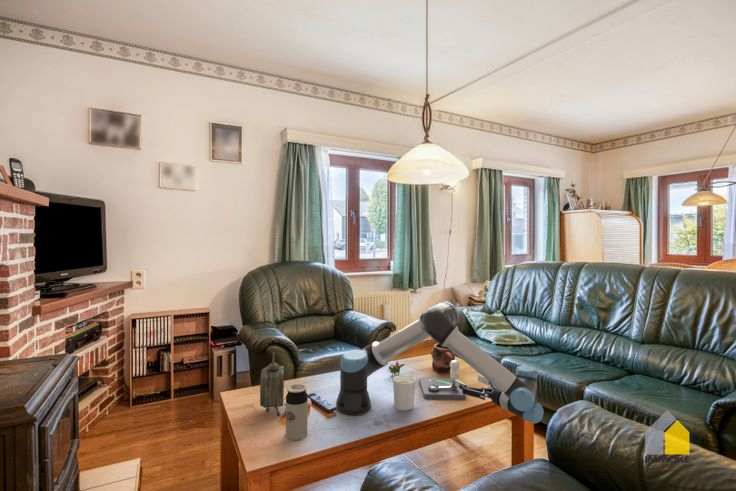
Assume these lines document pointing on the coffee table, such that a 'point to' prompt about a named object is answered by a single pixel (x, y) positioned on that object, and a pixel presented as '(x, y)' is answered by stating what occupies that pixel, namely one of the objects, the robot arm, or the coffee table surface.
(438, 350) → the decorative planter
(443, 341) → the robot arm
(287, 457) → the coffee table surface
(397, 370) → the figurine
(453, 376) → the shiny silver rounded post
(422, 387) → the dial board
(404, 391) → the candle holder
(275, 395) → the grey upright ornament
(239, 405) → the coffee table surface
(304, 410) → the travel mug
